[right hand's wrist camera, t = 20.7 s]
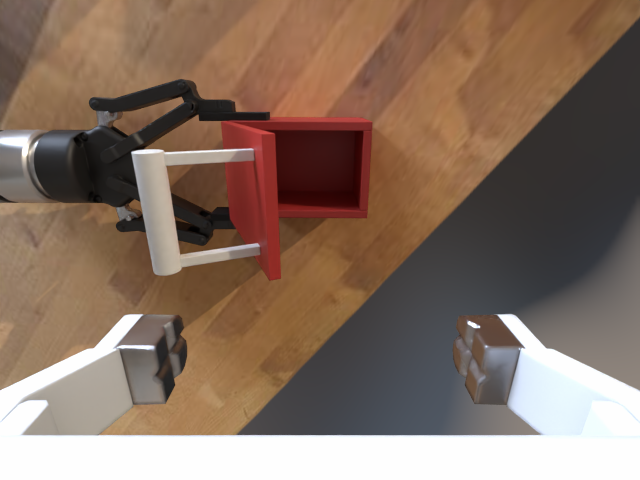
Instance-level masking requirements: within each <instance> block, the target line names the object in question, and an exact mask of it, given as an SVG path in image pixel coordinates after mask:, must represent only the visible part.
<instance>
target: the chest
mask: <svg viewBox="0 0 640 480" xmlns="http://www.w3.org/2000/svg"><path fill="white" fill-rule="evenodd" d="M230 122H234V123H237V124H241V125H245V126H248V127H252V128H256V129H260V130H263V131H267V132H271V133H274V134H275V146H276V170H277V195H278V218H367V210H368V193H369V175H370V157H371V139H372V122H371V121H368V120H366V119H363V118H315V117H270V120H267V121H230Z"/></svg>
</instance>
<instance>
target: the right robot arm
mask: <svg viewBox="0 0 640 480" xmlns="http://www.w3.org/2000/svg"><path fill="white" fill-rule="evenodd" d="M183 328H184V326H183V321H182V318H181V317H180V316H179V315H148V314H146V315H144V314H129V315H125V316H124V317H123V318H122V319H121V320H120V321H119V322H118V323H117V324H116V325H115V326H114V327H113V328H112V330H111V331H110V332H109V333H108V334H107V335H106V336H105V337H104V338H103V339H102V340H101V341H100V342H99V343H98V345H97V346H96V347H95V348H94V349H86V350H84V351H82V352H80V353H78V354H76V355H74V356H72V357H70V358H68V359H66V360H63V361H61V362H59V363H57V364H55V365H53V366H51V367H49V368H47V369H45V370H42V371H40V372H38V373H36V374H34V375H32V376H30V377H28V378H26V379H24V380H22V381H19V382H17V383H15V384H13V385H11V386H9V387H7V388H5V389H3V390H1V391H0V480H640V391H639V390H637V389H635V388H633V387H631V386H629V385H627V384H625V383H622V382H620V381H618V380H616V379H614V378H612V377H610V376H608V375H606V374H604V373H602V372H599V371H597V370H595V369H593V368H591V367H589V366H587V365H585V364H583V363H581V362H579V361H576V360H574V359H572V358H570V357H568V356H566V355H564V354H562V353H560V352H558V351H556V350H554V349H546V348H545V347H544V346H543V345H542V344H541V342H540V341H539V340H538V339H537V338H536V337H535V336H534V335H533V334H532V333H531V332H530V331H529V329H528V328H527V327H526V326H525V325H524V324H523V323H522V322H521V321H520V320H519V319H518V318H517V317H516V316H515V315H512V314H502V315H468V316H459V318H458V320H457V325H456V328H457V330H458V332H459V334H460V335H459V336H458V337H457V338H456V339H455V340H454V344H453V359H454V363H455V366H456V369H457V371H458V373H459V374H460V375H462V376H463V377H465V378H466V382H465V386H466V388H467V390H468V392H469V394H470V396H471V398H472V400H473V402H474V403H475V404H497V405H507V407H508V408H509V409H511V410H512V411H513V412H514V413H515V414H517V415H518V416H519V417H520V418H521V419H523V420H524V421H525V422H526V423H528V424H529V425H530V426H531V427H532V428H534V429H535V430H536V431H537V432H539V433H540V434H541V435H99V434H100V433H102V432H103V431H104V430H105V429H106V428H108V427H109V426H110V425H111V424H113V423H114V422H115V421H116V420H117V419H119V418H120V417H121V416H122V415H124V414H125V413H126V412H127V411H128V410H130V409H131V408H132V407H133V405H143V404H166V402H167V400H168V398H169V396H170V394H171V392H172V390H173V388H174V386H175V382H174V378H175V377H177V376H178V375H180V374H181V373H182V371H183V369H184V366H185V363H186V358H187V344H186V340H185V339H184V338H183V337H182V336H181V335H180V334H181V332H182V330H183Z"/></svg>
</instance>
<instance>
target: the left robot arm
mask: <svg viewBox="0 0 640 480" xmlns="http://www.w3.org/2000/svg"><path fill="white" fill-rule="evenodd" d="M179 97H182V98H183V100H184V103H183V104H181V105H179V106H178V107H176V108H175V109H173V110H171V111H170V112H168V113H167V114H165V115H163V116H162V117H160V118H159V119H157V120H155V121H154V122H152V123H151V124H149V125H147V126H146V127H144V128H143V129H141V130H139V131H138V132H136V133H134V134H131V135H130V136H128V135H126V134H125V133H123V132H122V131H120V130H119V129H117V128H116V127H114V126H113V122H114V121H115V120H119V119H121V118H122V115H123V112H126V111H134V110H137V109H141V108H144V107H148V106H151V105H155V104H158V103H161V102H165V101H168V100H172V99H175V98H179ZM89 105H90V107H91V108H92V109H93V110H96V113H97V121H98V126H96V127H95V128H93V129H91V130H51V131H48V130H0V203H59V202H62V203H106V204H109V205H111V206H113V207H116V210H117V213H118V216H119V220H120V221H119V222H118V223H117V224H116V228H117V230H119V231H120V232H129V231H142V232H146V228H145V223H144V218H143V214H142V213H141V211H140V210H136V209H132V208H131V207H130V206H129V203H130V202H131V201H133V200H134V199H136V200H138V201H140V196H139V191H138V186H137V180H136V175H135V170H134V164H133V159H132V154H131V153H132V152H133V151H137V150H145V149H144V148H145V147H147V146H149V145H150V144H152V143H153V142H155V140H157V139H159V138H160V137H162V136H164V135H165V134H167V133H169V132H170V131H172V130H173V129H175V128H177V127H178V126H180V125H182V124H183V123H185V122H186V121H188V120H190V119H191V118H193V117H195V116H196V115H198V114H199V121H267V120H270V112H236V110H235V102H234V101H231V100H204V99H202V98H201V97H200V96H199V94H198V92H197V90H196V84H195V83H194V82H193V81H190V80H184V79H179V80H175V81H172V82H169V83H165V84H162V85H158V86H155V87H152V88H148V89H145V90H142V91H138V92H135V93H131V94H128V95H125V96H121V97H118V98H102V97H93V98H91V99H90V100H89ZM171 198H172V205H173V211H174V216H176V217H178V218H180V219H182V220H184V221H187V222H189V223H191V224H188V223H184V222H180V221H176V220H175V224H176V231H177V237H178V240H180V241H184V242H188V243H192V244H197V245H201V246H203V245H205V244H207V242H208V241H209V240H210V239H211V237H212V236H213V230H214V229H236V228H235V226H234V224H233V223H232V221H231V220H230V213H229V207H217V208H216V209H215V210H214V211H213V212H212V213H211V212H209V211H207V210H205V209H203V208H201V207H199V206H197V205H195V204H193V203H191V202H189V201H187V200H185V199H182V198H180V197H178V196H176V195H174V194H172V193H171Z"/></svg>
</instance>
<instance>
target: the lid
mask: <svg viewBox="0 0 640 480" xmlns="http://www.w3.org/2000/svg"><path fill="white" fill-rule="evenodd" d="M221 127H222V138H223V148H224V150H205V151H183V152H164V151H163V150H158V149H148V150H137V151H133V152H132V153H131V154H132V159H133V164H134V170H135V175H136V180H137V186H138V191H139V196H140V202H141V207H142V212H143V218H144V223H145V228H146V234H147V239H148V244H149V250H150V255H151V260H152V266H153V271H154V273H155V274H156V275H160V276H166V275H172V274H175V273H177V272H179V271H180V270H181V269H182V267H188V266H194V265H200V264H206V263H213V262H219V261H225V260H231V259H237V258H243V257H250V256H254V257H255V259H256V260H257V262H258V263H259V265H260V266H261V268H262V270H263V271H264V273H265V274H266V276H267V277H268V279H269V280H275V279H280V278H281V269H280V244H279V219H278V195H277V170H276V146H275V134H274V133H271V132H267V131H263V130H260V129H256V128H252V127H248V126H245V125H241V124H237V123H234V122H230V121H223V122H221ZM223 162H225V170H226V180H227V191H228V202H229V213H230V220H231V221H232V223H233V224H234V226H235V228H236V229H237V231H238V232H239V234H240V235H241V237H242V238H243V240H244V242H245V243H246V245H241V246H235V247H228V248H221V249H215V250H208V251H201V252H194V253H188V254H181V255H180V250H179V244H178V237H177V231H176V224H175V218H174V211H173V205H172V198H171V192H170V185H169V179H168V172H167V166H172V165H189V164H206V163H223Z"/></svg>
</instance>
